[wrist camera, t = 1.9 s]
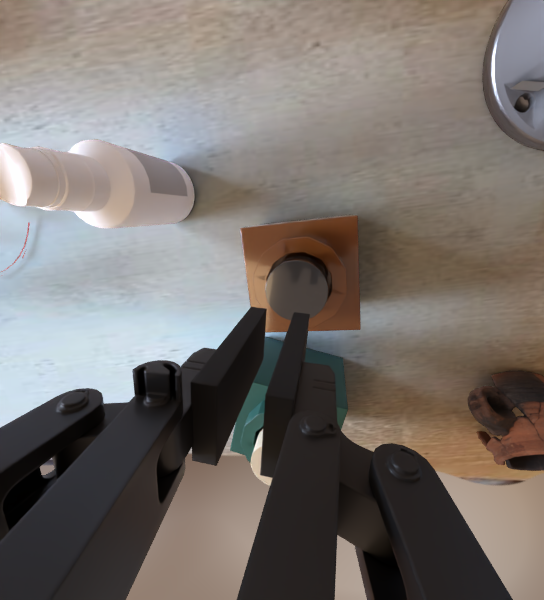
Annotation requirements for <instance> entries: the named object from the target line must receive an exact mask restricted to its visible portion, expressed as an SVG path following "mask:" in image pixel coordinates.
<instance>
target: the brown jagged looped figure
mask: <svg viewBox="0 0 544 600" xmlns="http://www.w3.org/2000/svg"><path fill="white" fill-rule="evenodd" d="M491 377H492V379H493V381H494V384H495V386H496V388H495V387H492V386H482V387H480V388H476V389H474V390H473V391H471V392H470V394H469V397H468V406H469V409H470V411H471V413H472V415H473V416H474V418H475V419H476V420H477V421H478V422H479V423H480V424H482V425H483V426H485V427H486V428H487V429H488V430H489V431H490V432H491V433H492V434H494V435H497V436H500V435H503V438H502V439H501V440H500V439H498V438H497V437H492V438H491V437H490V436H489V435H488V433H486V432H484V431H483V432H482V431H478V432H477V434H478V437H479V439H480V440H481V441H482V443H483V444H484V445H485V447H486V449H487V450H488V451H491V452H492V453H493V455H494V461H495V462H496V463H497V464H498V465H505V461H506V465H507V467H508V468H510V469H517V470H529V471H541V470H544V377H543V376H541V375H539V374H536V373H532V372H524V371H507V372H503V373H497V374H494V375H492V376H491ZM514 407H517V408H518V409H519V410H520V411H521V412H522V413H523V414H524V416H518V417H516V416H515V414H514V413H513V412H512V410H513V408H514Z"/></svg>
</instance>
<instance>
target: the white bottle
mask: <svg viewBox="0 0 544 600" xmlns="http://www.w3.org/2000/svg"><path fill="white" fill-rule="evenodd" d="M0 199H1V200H3V201H6V202H8V203H9V204H13V205H16V206H33V207H38V208H41V209H44V210H70V211H73V212H75V213H76V214H77V215H78V217H80V218H81V219H83V220H84V221H85V222H87V223H88V224H90V225H93V226H96V227H99V228H123V227H136V226H149V225H162V224H175V223H177V222H180V221H182V220H183V219H185V218H186V217H187V216H188V215H189V213H190V211H191V209H192V208H193V204H194V199H195V194H194V187H193V184H192V182H191V179H190V177H189V176H188V174H187V173H186V172H185V170H184V169H182V168H181V167H180V166H178V165H177V164H175V163H172V162H168V161H165V160H162V159H159V158H156V157H153V156H149V155H146V154H143V153H140V152H137V151H133V150H130V149H127V148H124V147H121V146H117V145H114V144H111V143H108V142H105V141H101V140H98V139H94V140H83V141H81V142H79V143H77V144H76V145H74V146H73V147H72V148H71V149H70V150H69V152H61V151H56V150H52V149H47V148H43V147H30V148H21V147H17V146H13V145H10V144H6V143H0Z"/></svg>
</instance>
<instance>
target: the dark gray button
mask: <svg viewBox="0 0 544 600" xmlns="http://www.w3.org/2000/svg"><path fill="white" fill-rule="evenodd" d="M265 293H266V298H267V301H268V303H269V305H270V307H271V308H272V309H273V311H274V312H276V313H277V314H278V315H279V316H281V317H283V318H285V319H287V320H291V319H292V316H293V313H294V312H297V313H305V314H310V318H312V317H314V316H316V315H317V314H318V313H319V312H320V311H321V310H322V309H323V307H324V306H325V304H326V302H327V298H328V277H327V274H326V272H325V270H324V268H323V267H322V266H321V264H320V263H318V262H317V261H316V260H314V259H312V258H310V257H307V256H301V255H297V256H291V257H288V258H286V259H284V260H283V261H282V262H280V263H279V264H278V265H277V266H276V267H275V269H274V270H273V271H272V272H271V273H270V275H269V277H268V279H267V282H266V287H265ZM310 318H309V319H310Z"/></svg>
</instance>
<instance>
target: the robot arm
mask: <svg viewBox="0 0 544 600" xmlns="http://www.w3.org/2000/svg"><path fill="white" fill-rule="evenodd" d="M483 90H484V95H485V100H486V103H487V106H488V109H489V111H490V113H491V115H492V117H493V119H494V120H495V122H496V123H497V124H498V126H499V127H500V128H501V129H502V130H503V131H504V132H505V133H506V134H507V135H508V136H510V137H511V138H512V139H514V140H515V141H517V142H519V143H521V144H523V145H526V146H528V147H531V148H535V149H539V150H544V0H508V1H507V3H506V5H505V6H504V8H503V10H502V11H501V13H500V15H499V17H498V19H497V21H496V23H495V25H494V27H493V30H492V32H491V35H490V38H489V41H488V44H487V48H486V52H485V57H484V64H483ZM266 311H267V309H265V308H257V307H251V308H250V309H249V310H248V312H247V313H246V314H245V315H244V317H243V318H242V319H241V320H240V321H239V323H238V324H237V325H236V326H235V328H234V329H233V330H232V331H231V333H230V334H229V335H228V336H227V338H226V339H225V340H224V341H223V342H222V344H221V345H220V346H219V347H218V349H217V350H216V349H209V348H203V349H201V350H199V351H197V352H195V353H193V354H192V355H191V356H190V357H189V358H188V359H187V362H186V361H185V363H184V364H183V365H182V366H181V367H180V366H179V365H178V364H176V363H175V362H171V361H161V360H158V361H152V362H147V363H145V364H142V365H139V366H138V367H136V368H135V369H133V380H134V391H135V396H134V398H133V399H132V400H131V401H130V402H127V403H109V404H104V403H103V397H102V393H101V392H99V391H98V390H95V389H89V388H86V389H76V390H73V391H69V392H66V393H64V394H61V395H59V396H57V397H55V398H53V399H51V400H50V401H48V402H46V403H44V404H42V405H41V406H39V407H37V408H35V409H33V410H32V411H30V412H28V413H26V414H24V415H22V416H21V417H19V418H17V419H15V420H13V421H12V422H10V423H8V424H6V425H4V426H3V427H1V428H0V600H126V598H127V596H128V594H129V591H130V589H131V587H132V585H133V583H134V581H135V578H136V576H137V574H138V572H139V570H140V568H141V566H142V563H143V561H144V559H145V557H146V555H147V553H148V551H149V548H150V546H151V544H152V542H153V540H154V538H155V536H156V533H157V531H158V529H159V527H160V525H161V522H162V520H163V518H164V516H165V514H166V512H167V510H168V508H169V505H170V503H171V501H172V499H173V497H174V495H175V492H176V491H177V488H178V486H179V484H180V482H181V480H182V478H183V475H184V471H185V457H186V456H187V454H188V452H189V451H190V449H191V447H192V460H193V461H197V462H201V463H206V464H211V465H215V466H216V465H217V463H218V461H219V459H220V457H221V454H222V452H223V450H224V447H225V445H226V443H227V441H228V438H229V436H230V434H231V432H232V429H233V427H234V425H235V423H236V420H237V418H238V416H239V413H240V411H241V409H242V407H243V404H244V402H245V400H246V398H247V395H248V393H249V391H250V388H251V386H252V384H253V382H254V379H255V377H256V375H257V373H258V370H259V368H260V366H261V364H262V361H263V359H264V343H265V327H266ZM309 318H310V314H305V313H297V312H294V313H293V316H292V319H291V322H290V325H289V328H288V331H287V334H286V337H285V340H284V342H283V345H282V348H281V351H280V354H279V357H278V360H277V363H276V366H275V369H274V372H273V374H272V377H271V380H270V383H269V386H268V389H267V392H266V395H265V409H264V424H263V439H262V454H261V469H260V475H261V476H266V477H270V478H272V481H271V485H270V488H269V492H268V495H267V499H266V502H265V505H264V509H263V512H262V516H261V519H260V522H259V526H258V529H257V533H256V536H255V540H254V543H253V546H252V550H251V553H250V557H249V560H248V563H247V567H246V570H245V573H244V577H243V580H242V584H241V587H240V591H239V594H238V598H237V600H334V599H335V598H334V597H335V574H336V549H337V535H339V536H340V537H342V538H344V539H346V540H347V541H349V542H350V543H352V544H353V545H355V549H356V554H357V558H358V562H359V567H360V571H361V575H362V579H363V584H364V588H365V593H366V597H367V600H513V599H512V598H511V596H510V594H509V593H508V591H507V590H506V588H505V586H504V584H503V583H502V581H501V579H500V578H499V576H498V574H497V573H496V571H495V569H494V568H493V566H492V564H491V563H490V561H489V560H488V558H487V556H486V555H485V553H484V551H483V550H482V548H481V546H480V545H479V543H478V541H477V540H476V538H475V536H474V535H473V533H472V531H471V530H470V528H469V526H468V525H467V523H466V521H465V520H464V518H463V516H462V515H461V513H460V511H459V510H458V508H457V506H456V505H455V503H454V502H453V500H452V498H451V496H450V495H449V493H448V491H447V490H446V488H445V487H444V485H443V483H442V482H441V480H440V478H439V477H438V475H437V473H436V472H435V470H434V468H433V467H432V466H431V465H430V464H429V462H428V461H427V460H426V459H425V458H424V457H422V456H421V455H420V454H418V453H417V452H416V451H414V450H412V449H410V448H407V447H405V446H402V445H398V444H393V443H391V444H382V445H381V446H379V447H377V448H376V449H375V451H374V452H372V451H370V450H368V449H365V448H363V447H361V446H359V445H357V444H355V443H354V442H352V441H351V440H349V439H348V438H347V437H346V436H345V435H344V434H343V433H342V432H341V430H340V426H339V425H338V422H337V405H336V384H335V383H336V381H335V373H334V372H333V370H332V369H331V367H330V366H329V365H322V364H316V363H309V362H305V354H306V345H307V336H308V327H309ZM51 458H52V459H53V463H54V468H55V469H54V470H53V471H52V472H50V473H48V474H46V475H41V471H40V466H41V465H43V464H44V463H45V462H47V461H48V460H49V459H51Z"/></svg>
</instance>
